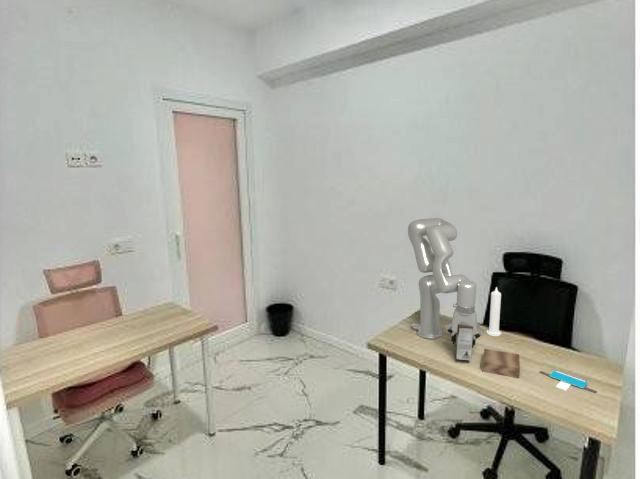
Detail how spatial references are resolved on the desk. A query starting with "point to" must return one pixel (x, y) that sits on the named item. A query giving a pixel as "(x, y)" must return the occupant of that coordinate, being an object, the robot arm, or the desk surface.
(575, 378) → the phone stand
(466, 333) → the coffee box
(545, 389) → the desk surface
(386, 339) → the desk surface
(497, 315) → the candle
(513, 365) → the walnut block
